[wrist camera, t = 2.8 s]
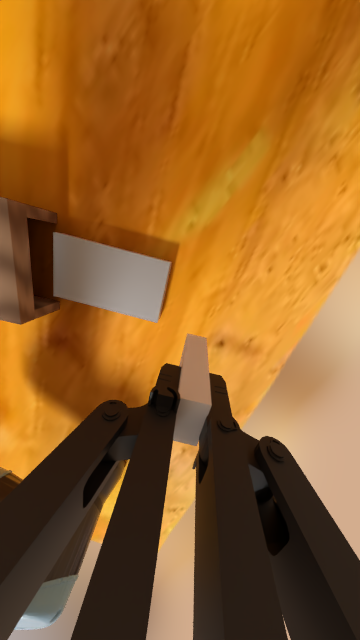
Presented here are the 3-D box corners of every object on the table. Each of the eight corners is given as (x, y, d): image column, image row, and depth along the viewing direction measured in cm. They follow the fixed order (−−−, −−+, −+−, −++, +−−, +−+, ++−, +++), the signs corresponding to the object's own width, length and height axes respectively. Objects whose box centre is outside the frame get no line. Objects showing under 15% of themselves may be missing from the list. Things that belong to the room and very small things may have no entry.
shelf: (59, 309, 34) (20, 324, 26) (-1, 295, 34) (-56, 307, 27) (56, 213, 28) (6, 198, 21) (-15, 197, 28) (-90, 177, 21)
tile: (160, 317, 33) (157, 322, 31) (65, 292, 33) (53, 295, 30) (172, 261, 30) (170, 262, 27) (66, 233, 30) (53, 231, 27)
